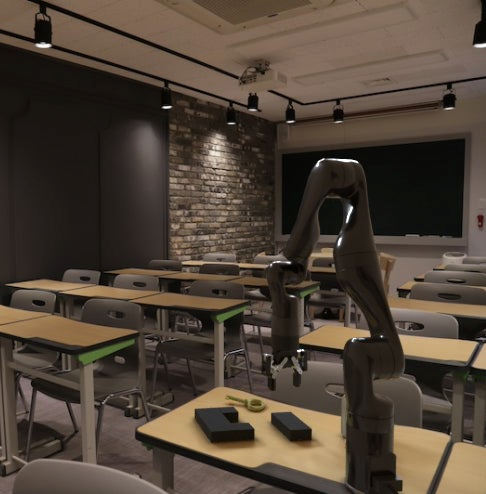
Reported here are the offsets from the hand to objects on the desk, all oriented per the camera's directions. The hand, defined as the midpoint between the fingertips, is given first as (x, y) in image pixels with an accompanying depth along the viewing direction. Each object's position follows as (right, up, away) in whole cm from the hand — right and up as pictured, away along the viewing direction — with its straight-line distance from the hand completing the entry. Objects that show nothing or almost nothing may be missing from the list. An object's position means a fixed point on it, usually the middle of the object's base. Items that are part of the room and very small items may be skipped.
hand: (284, 388), depth 138 cm
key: (-7, -10, +16) cm, 21 cm away
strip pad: (+1, -11, -3) cm, 11 cm away
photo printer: (+18, -11, -5) cm, 22 cm away
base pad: (-18, -11, -1) cm, 21 cm away
